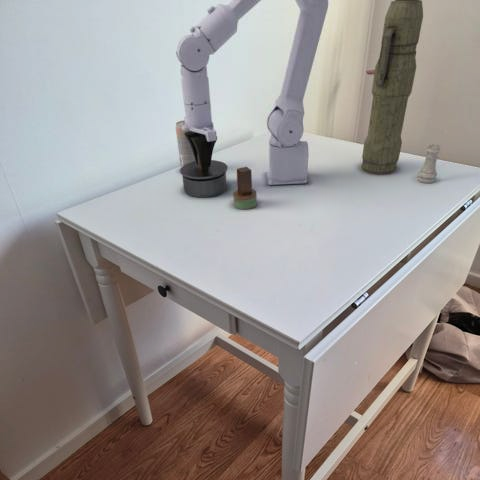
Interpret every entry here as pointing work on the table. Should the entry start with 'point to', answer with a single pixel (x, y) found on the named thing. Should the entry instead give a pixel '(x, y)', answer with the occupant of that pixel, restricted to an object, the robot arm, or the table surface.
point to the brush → (244, 190)
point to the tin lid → (203, 170)
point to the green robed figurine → (392, 86)
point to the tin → (205, 186)
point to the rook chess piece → (429, 165)
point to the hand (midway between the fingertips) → (203, 165)
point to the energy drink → (184, 145)
